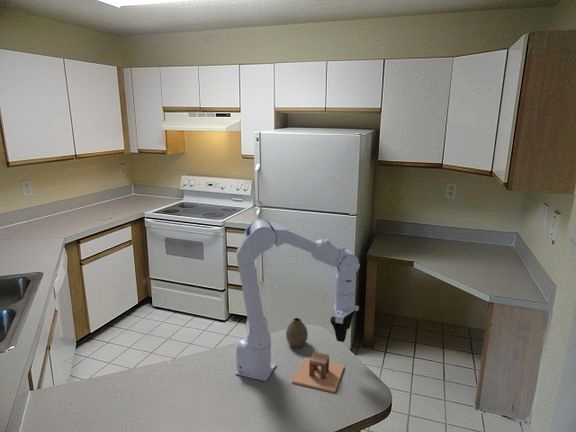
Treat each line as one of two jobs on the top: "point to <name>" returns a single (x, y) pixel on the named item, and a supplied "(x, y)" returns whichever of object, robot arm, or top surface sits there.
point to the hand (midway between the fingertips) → (343, 334)
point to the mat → (319, 376)
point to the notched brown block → (319, 364)
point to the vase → (296, 333)
